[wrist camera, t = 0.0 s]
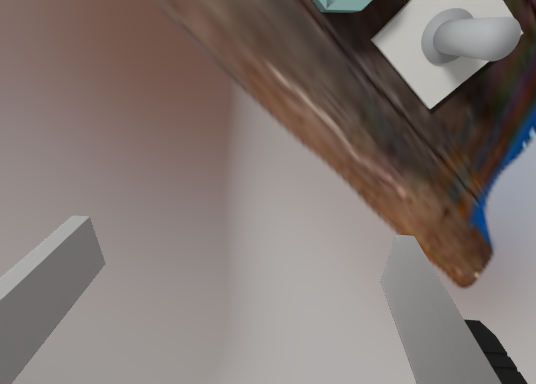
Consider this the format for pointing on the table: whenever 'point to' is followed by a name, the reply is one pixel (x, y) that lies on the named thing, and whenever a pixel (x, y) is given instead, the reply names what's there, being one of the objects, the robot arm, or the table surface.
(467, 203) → the table surface
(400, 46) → the plate with round peg
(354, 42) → the table surface
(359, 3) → the ring
